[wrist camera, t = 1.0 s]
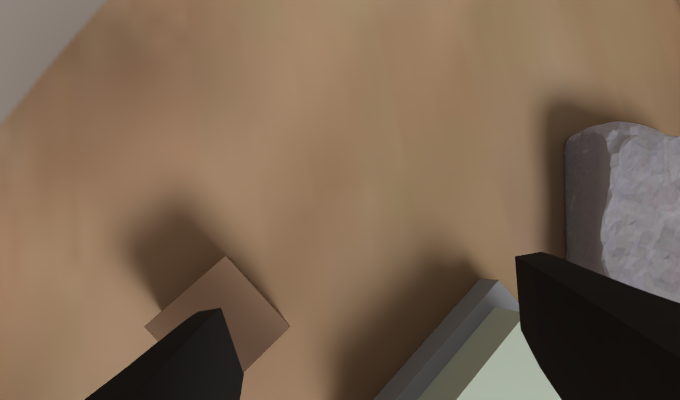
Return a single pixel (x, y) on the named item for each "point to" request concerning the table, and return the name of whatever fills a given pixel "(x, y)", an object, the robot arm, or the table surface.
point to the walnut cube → (227, 311)
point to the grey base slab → (447, 340)
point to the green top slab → (493, 366)
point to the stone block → (625, 205)
